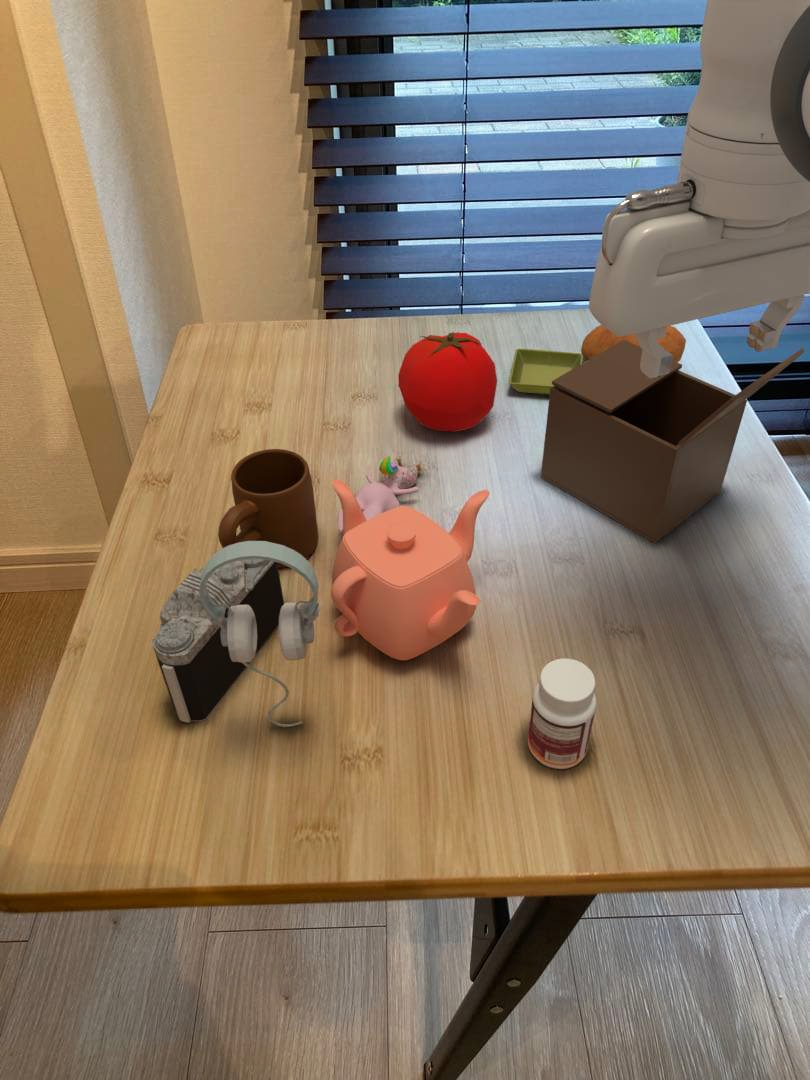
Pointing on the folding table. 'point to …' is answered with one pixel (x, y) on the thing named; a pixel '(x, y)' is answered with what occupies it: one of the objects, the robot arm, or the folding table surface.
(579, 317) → the folding table surface
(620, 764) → the folding table surface
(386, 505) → the pink animal figure
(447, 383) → the tomato
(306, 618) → the headphones
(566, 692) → the pill bottle
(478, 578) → the folding table surface
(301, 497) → the mug
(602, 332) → the potato
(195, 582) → the camera
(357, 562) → the teapot
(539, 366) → the olive green tray
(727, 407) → the flap
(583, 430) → the carton
